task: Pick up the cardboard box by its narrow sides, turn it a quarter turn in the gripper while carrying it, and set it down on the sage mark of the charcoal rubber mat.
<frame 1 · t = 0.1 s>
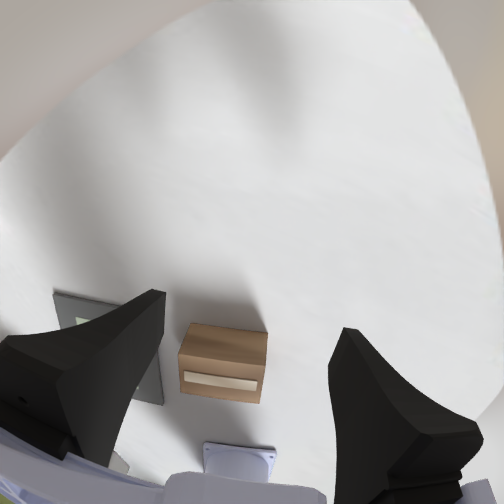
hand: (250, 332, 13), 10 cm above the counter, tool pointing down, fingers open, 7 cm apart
cardboard box: (227, 347, 25), on the counter
lighter: (123, 463, 36), on the counter
mat: (109, 352, 27), on the counter
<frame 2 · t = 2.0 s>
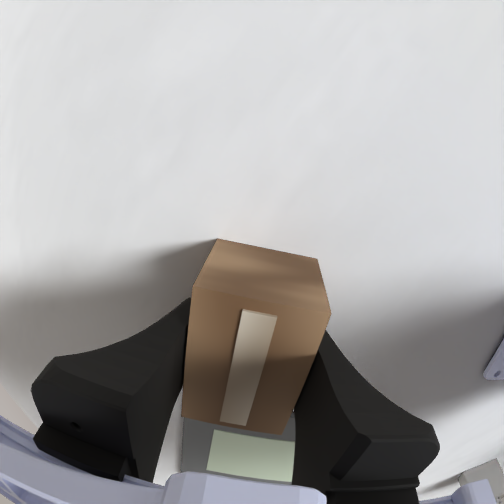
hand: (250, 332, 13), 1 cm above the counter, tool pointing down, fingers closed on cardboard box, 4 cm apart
cardboard box: (253, 312, 14), on the counter, touching gripper
lighter: (489, 462, 19), on the counter
mat: (267, 456, 18), on the counter
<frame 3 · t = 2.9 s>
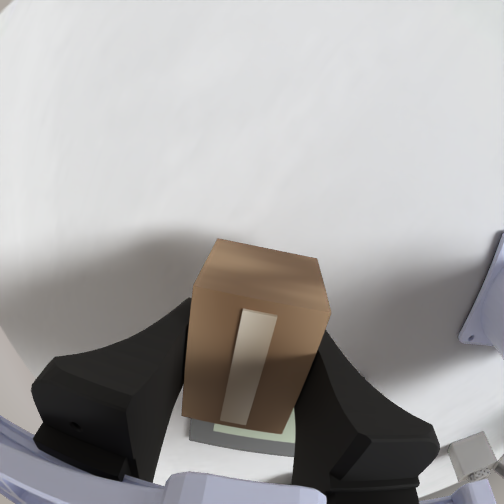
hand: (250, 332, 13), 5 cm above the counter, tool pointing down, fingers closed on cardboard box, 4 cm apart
cardboard box: (253, 312, 14), point 4 cm above the counter, touching gripper
lighter: (476, 435, 23), on the counter
mat: (268, 414, 21), on the counter
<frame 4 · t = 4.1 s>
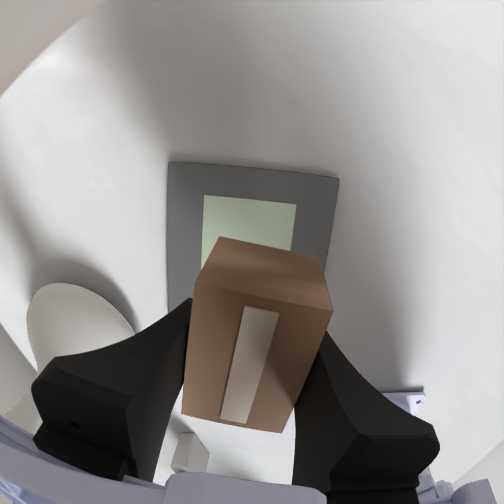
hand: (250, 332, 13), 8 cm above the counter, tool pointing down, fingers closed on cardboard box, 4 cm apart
cardboard box: (254, 310, 14), point 7 cm above the counter, touching gripper
lighter: (200, 450, 29), on the counter
flower in vase: (97, 340, 25), on the counter
mat: (245, 255, 20), on the counter
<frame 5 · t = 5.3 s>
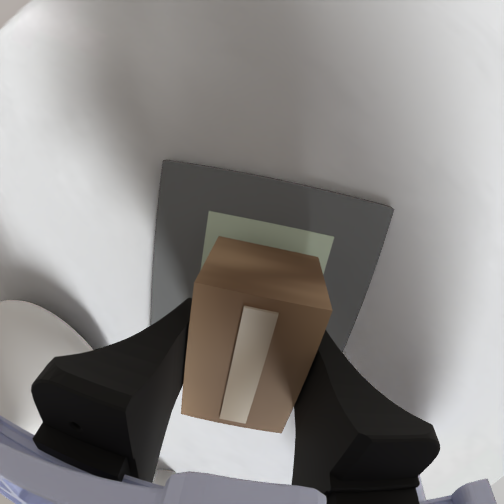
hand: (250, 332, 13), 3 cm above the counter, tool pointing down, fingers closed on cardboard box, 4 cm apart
cardboard box: (254, 310, 14), point 2 cm above the counter, touching gripper
lighter: (179, 485, 24), on the counter
flower in vase: (65, 366, 19), on the counter
mat: (256, 294, 15), on the counter
when the fingers open (3 cm above the counter, at t = 6.1 s): cardboard box drops 1 cm, resting on mat.
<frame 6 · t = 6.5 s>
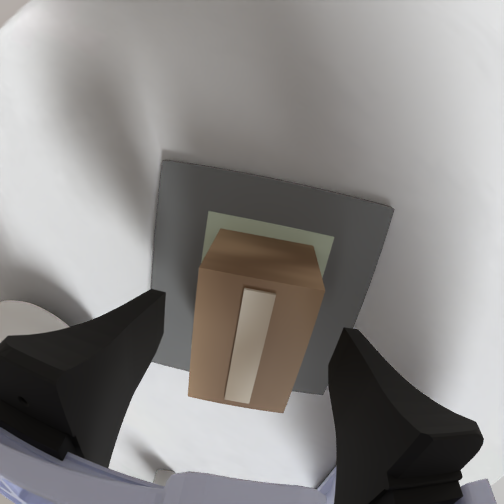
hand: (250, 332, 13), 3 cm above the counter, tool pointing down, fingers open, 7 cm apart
cardboard box: (254, 298, 15), resting on mat
lighter: (178, 485, 24), on the counter
flower in vase: (64, 366, 19), on the counter
mat: (256, 295, 15), on the counter
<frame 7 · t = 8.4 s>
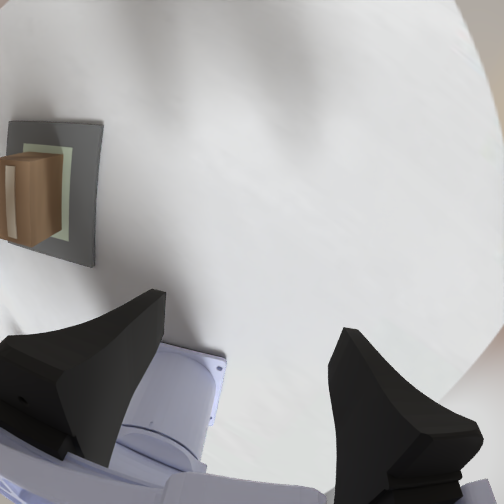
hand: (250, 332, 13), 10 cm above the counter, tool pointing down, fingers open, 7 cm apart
cardboard box: (43, 190, 21), resting on mat
mat: (47, 190, 22), on the counter
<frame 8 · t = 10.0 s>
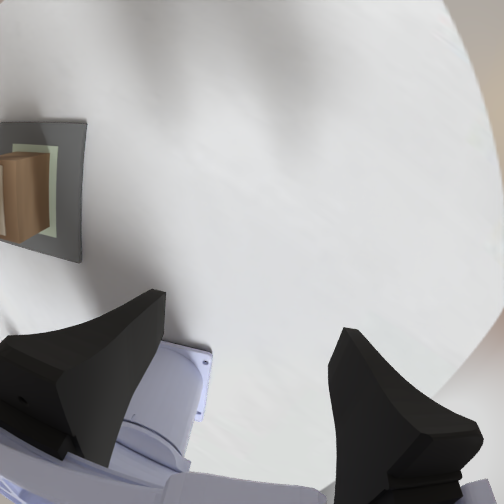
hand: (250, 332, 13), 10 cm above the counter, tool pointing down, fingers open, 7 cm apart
cardboard box: (31, 188, 21), resting on mat
mat: (35, 188, 22), on the counter
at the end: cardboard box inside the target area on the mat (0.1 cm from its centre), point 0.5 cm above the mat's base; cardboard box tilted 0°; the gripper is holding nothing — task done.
